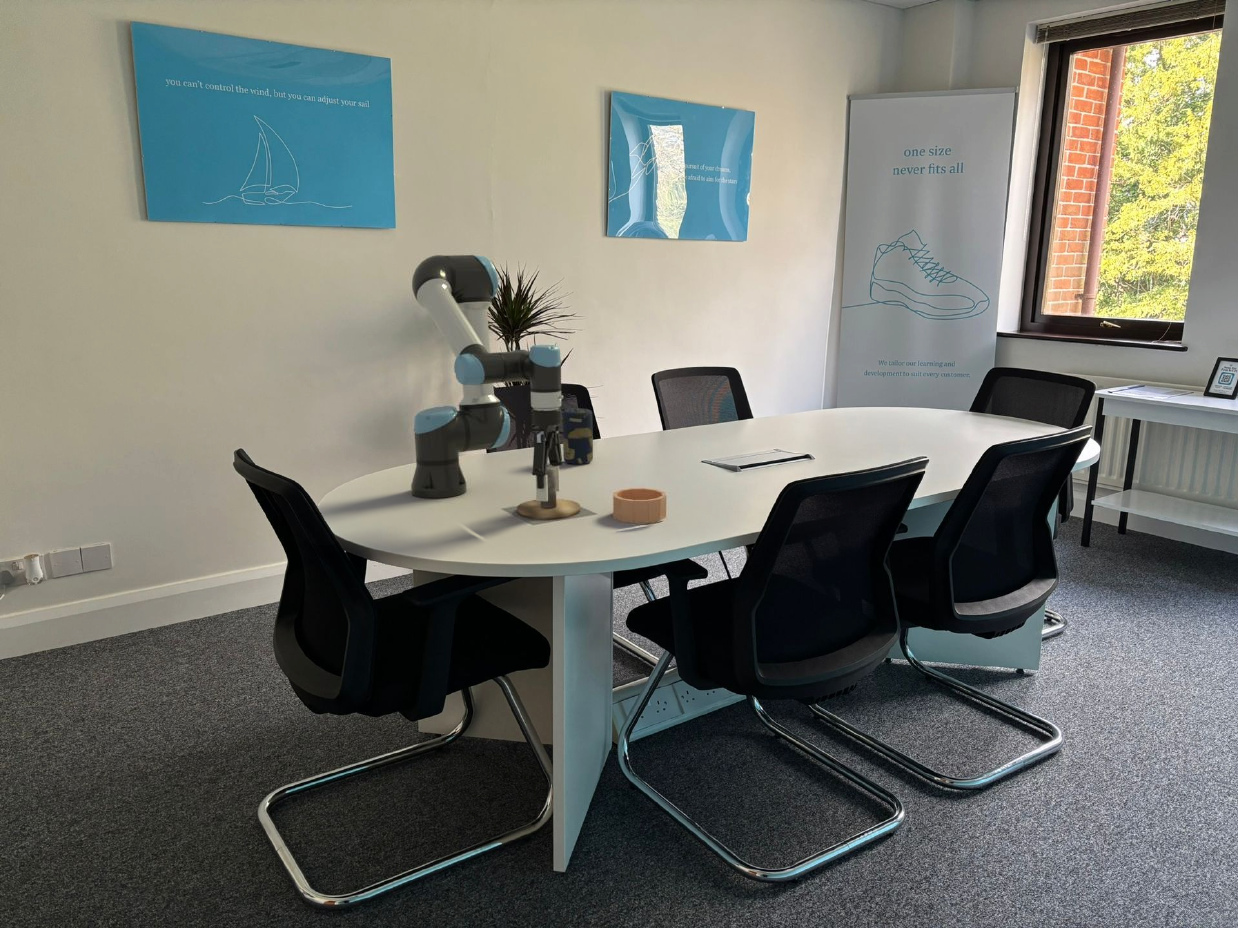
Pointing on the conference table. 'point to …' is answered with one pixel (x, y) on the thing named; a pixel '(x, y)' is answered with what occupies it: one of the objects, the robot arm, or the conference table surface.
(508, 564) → the conference table surface
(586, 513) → the mat
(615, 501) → the bowl
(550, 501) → the lid
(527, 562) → the conference table surface
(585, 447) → the canister
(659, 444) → the conference table surface
